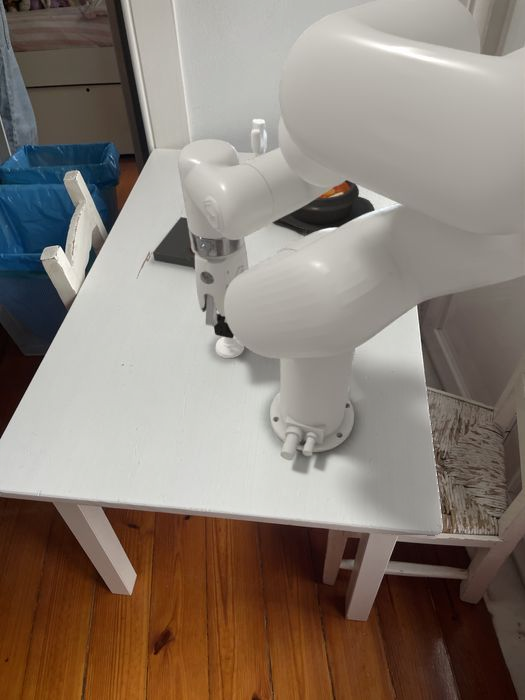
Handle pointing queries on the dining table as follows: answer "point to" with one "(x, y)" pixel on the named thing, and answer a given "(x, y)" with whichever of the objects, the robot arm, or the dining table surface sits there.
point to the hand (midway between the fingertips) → (227, 328)
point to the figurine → (258, 137)
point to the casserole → (331, 209)
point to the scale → (176, 246)
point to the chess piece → (229, 347)
